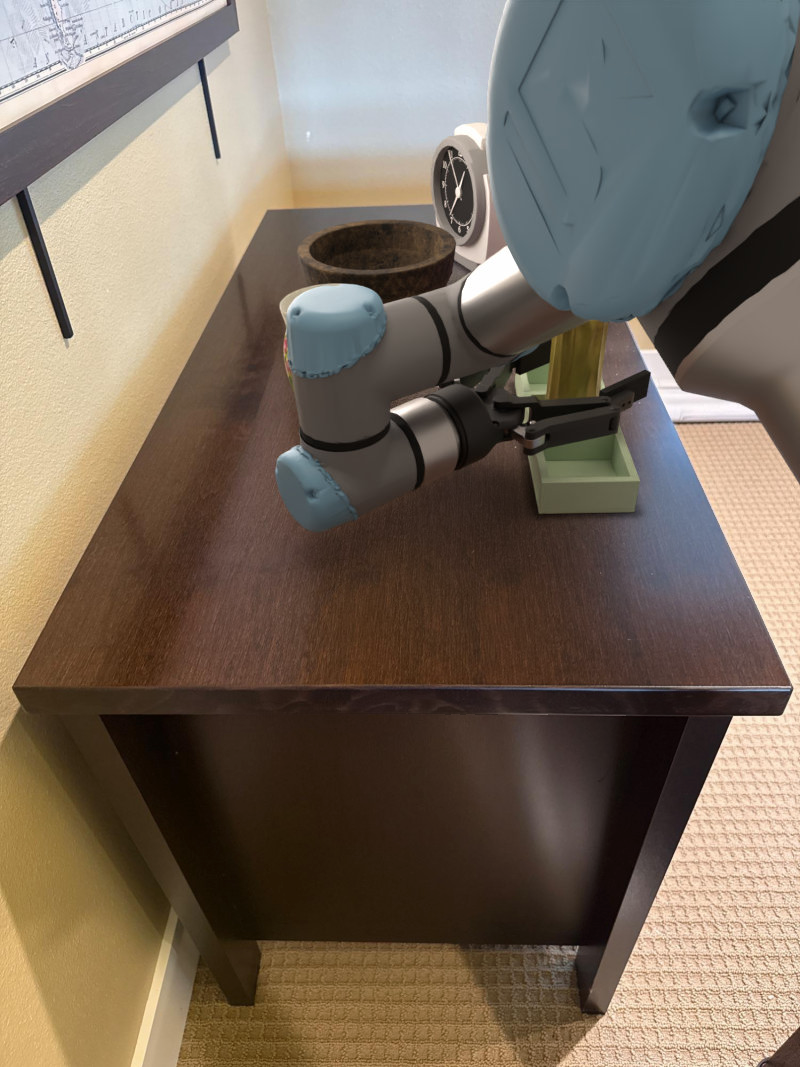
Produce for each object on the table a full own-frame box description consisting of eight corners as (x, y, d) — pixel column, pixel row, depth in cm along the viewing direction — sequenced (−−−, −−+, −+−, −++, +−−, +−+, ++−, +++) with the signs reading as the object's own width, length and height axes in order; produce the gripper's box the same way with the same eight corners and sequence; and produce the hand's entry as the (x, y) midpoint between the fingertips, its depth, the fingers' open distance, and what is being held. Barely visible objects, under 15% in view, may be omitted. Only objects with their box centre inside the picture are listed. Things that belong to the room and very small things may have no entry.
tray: (634, 512, 74) (640, 480, 72) (538, 513, 74) (541, 482, 72) (590, 383, 94) (593, 355, 92) (514, 384, 94) (516, 357, 92)
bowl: (459, 345, 103) (459, 271, 97) (297, 350, 104) (287, 277, 98) (452, 283, 120) (453, 216, 114) (313, 287, 121) (306, 222, 115)
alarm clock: (427, 249, 132) (425, 118, 119) (471, 240, 135) (473, 110, 122) (479, 284, 119) (483, 140, 107) (526, 273, 122) (535, 132, 109)
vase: (578, 457, 80) (594, 328, 71) (528, 438, 84) (538, 312, 75) (607, 432, 84) (626, 306, 75) (558, 415, 87) (571, 291, 78)
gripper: (368, 420, 81) (522, 357, 91) (522, 528, 66) (687, 439, 76) (363, 354, 76) (526, 295, 86) (527, 454, 61) (703, 369, 71)
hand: (602, 362), depth 81 cm, fingers open, 11 cm apart
